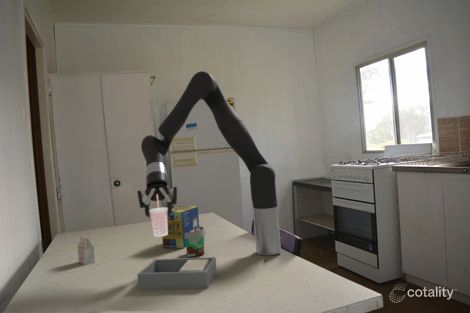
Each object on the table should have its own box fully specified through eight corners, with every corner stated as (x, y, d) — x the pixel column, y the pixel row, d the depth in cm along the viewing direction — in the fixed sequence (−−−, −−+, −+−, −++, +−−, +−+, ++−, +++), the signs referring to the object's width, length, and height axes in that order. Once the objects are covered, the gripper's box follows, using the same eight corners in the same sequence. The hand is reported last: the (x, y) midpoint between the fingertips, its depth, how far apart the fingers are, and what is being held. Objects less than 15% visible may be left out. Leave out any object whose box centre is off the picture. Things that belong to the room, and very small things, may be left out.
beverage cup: (160, 238, 113) (157, 195, 113) (147, 237, 117) (144, 195, 116) (173, 233, 118) (170, 192, 118) (160, 232, 122) (157, 192, 122)
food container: (202, 259, 128) (199, 232, 128) (186, 259, 129) (184, 233, 129) (210, 249, 140) (209, 225, 140) (196, 250, 142) (194, 225, 141)
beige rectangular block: (210, 273, 110) (209, 259, 110) (203, 285, 100) (201, 270, 100) (188, 273, 111) (187, 259, 111) (179, 286, 101) (178, 270, 101)
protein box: (162, 247, 149) (159, 212, 149) (181, 238, 163) (178, 205, 163) (183, 248, 145) (180, 211, 145) (200, 239, 160) (198, 205, 159)
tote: (216, 274, 111) (215, 257, 111) (208, 291, 98) (206, 272, 98) (155, 275, 114) (154, 259, 114) (138, 292, 101) (137, 274, 101)
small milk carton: (88, 259, 140) (86, 234, 139) (94, 262, 135) (92, 237, 135) (78, 262, 137) (76, 236, 137) (85, 265, 132) (83, 239, 132)
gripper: (135, 172, 123) (135, 210, 112) (176, 168, 126) (180, 205, 114) (137, 186, 128) (138, 223, 117) (176, 182, 131) (181, 218, 120)
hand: (158, 214), depth 116 cm, fingers closed on beverage cup, 6 cm apart
